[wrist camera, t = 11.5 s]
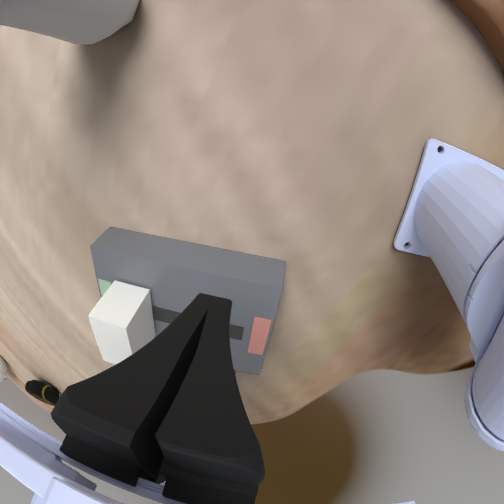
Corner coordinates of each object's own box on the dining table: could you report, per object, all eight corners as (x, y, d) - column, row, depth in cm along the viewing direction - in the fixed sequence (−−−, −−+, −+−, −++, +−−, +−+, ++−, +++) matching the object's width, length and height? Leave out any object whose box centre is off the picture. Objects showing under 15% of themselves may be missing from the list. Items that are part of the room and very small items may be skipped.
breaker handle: (149, 289, 21) (125, 328, 17) (155, 334, 23) (137, 372, 20) (114, 280, 21) (88, 315, 17) (124, 325, 24) (103, 360, 20)
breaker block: (285, 261, 21) (282, 288, 19) (263, 349, 27) (259, 376, 24) (110, 226, 22) (89, 246, 20) (124, 315, 28) (110, 337, 25)
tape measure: (26, 375, 44) (22, 391, 41) (41, 376, 42) (36, 393, 39) (50, 390, 48) (46, 405, 45) (67, 392, 46) (63, 408, 44)
